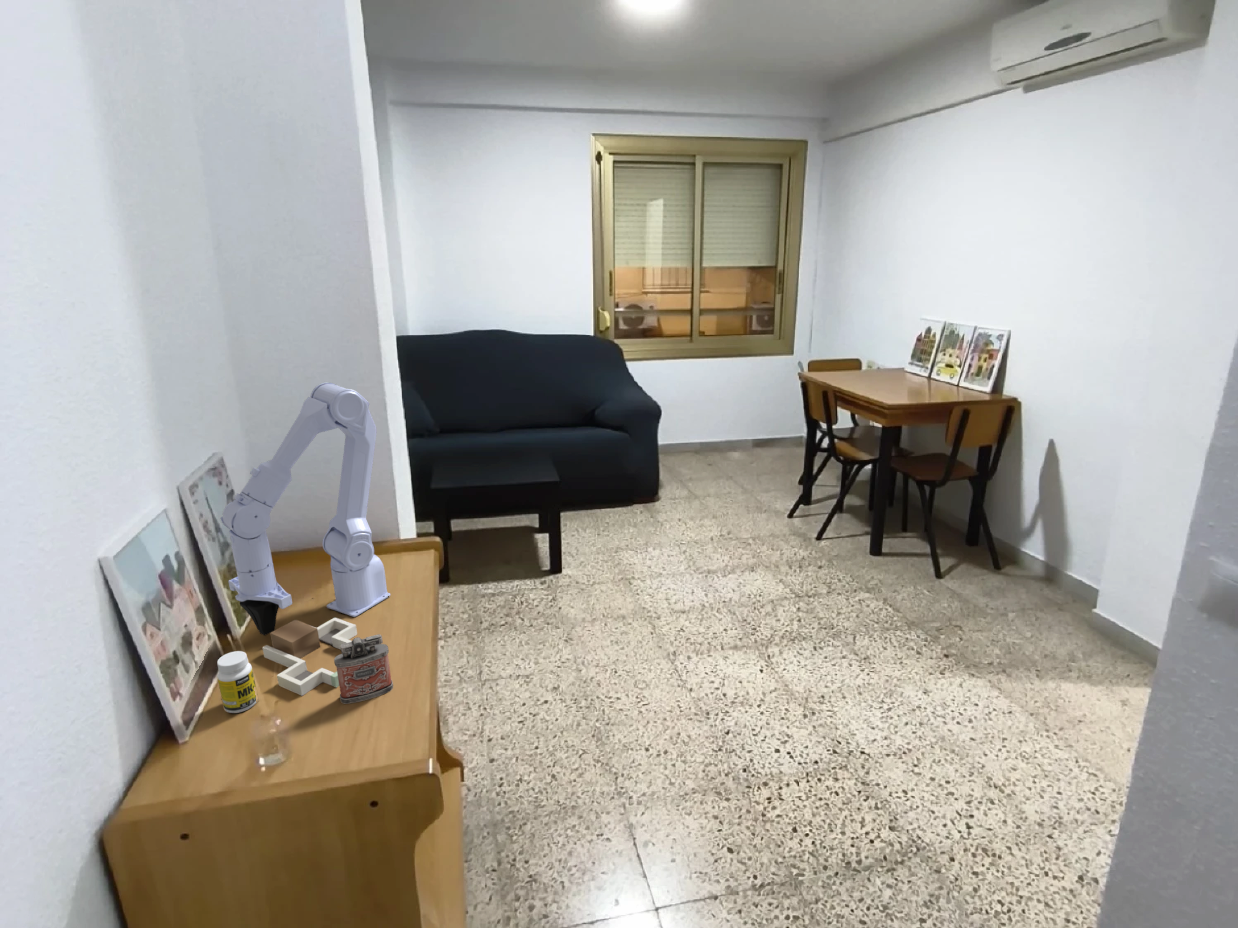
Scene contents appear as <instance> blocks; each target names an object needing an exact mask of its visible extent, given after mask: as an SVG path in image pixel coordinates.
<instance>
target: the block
mask: <svg viewBox="0 0 1238 928" xmlns="http://www.w3.org/2000/svg"><path fill="white" fill-rule="evenodd" d="M312 626H313V625H310V624H308V623H305V622H303V621H301V620H298V619H293V620H292V621H290V622H288V623H286V624H285V625H282V626H280V627H279V628H277V629H275V631H273V632H271V633H269V634H270V639H271V644H272V647H273V648H275V649H277V650H280V651H282V652H285V653H287V654H290V655H292V656H295V657H297V658H299V659H303V658H305V657H306V656H308V655H309V654H311V653H313V652H315V651H316V650H318V649H320V648H321V643H320V642H321V641H320V640H319V635H318V630H317V627H316V628H315V626H313V627H312Z"/></svg>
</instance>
